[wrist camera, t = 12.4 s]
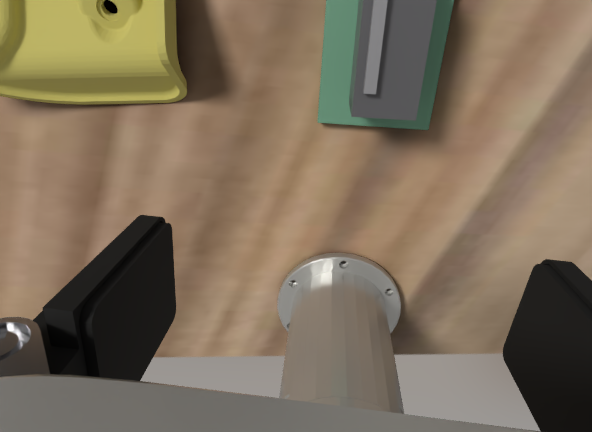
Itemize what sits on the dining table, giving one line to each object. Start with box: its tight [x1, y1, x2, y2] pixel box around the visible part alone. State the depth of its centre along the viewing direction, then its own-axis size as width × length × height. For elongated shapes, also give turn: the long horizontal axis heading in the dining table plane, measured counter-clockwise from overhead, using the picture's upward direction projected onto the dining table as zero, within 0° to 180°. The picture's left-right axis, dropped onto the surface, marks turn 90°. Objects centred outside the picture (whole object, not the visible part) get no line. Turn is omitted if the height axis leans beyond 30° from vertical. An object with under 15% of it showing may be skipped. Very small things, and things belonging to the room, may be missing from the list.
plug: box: [349, 0, 437, 121], centre depth 28 cm, size 9×4×6 cm, turn 178°
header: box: [318, 0, 454, 130], centre depth 30 cm, size 12×9×4 cm
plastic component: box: [0, 0, 187, 105], centre depth 31 cm, size 20×7×10 cm
